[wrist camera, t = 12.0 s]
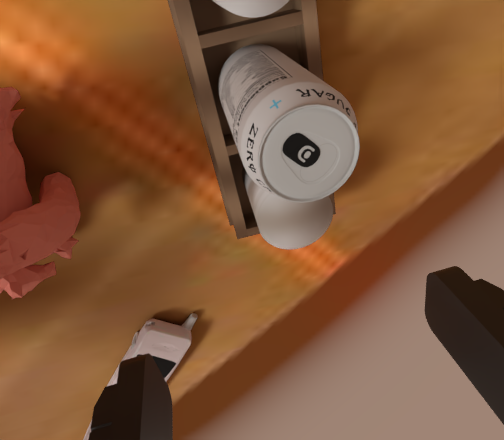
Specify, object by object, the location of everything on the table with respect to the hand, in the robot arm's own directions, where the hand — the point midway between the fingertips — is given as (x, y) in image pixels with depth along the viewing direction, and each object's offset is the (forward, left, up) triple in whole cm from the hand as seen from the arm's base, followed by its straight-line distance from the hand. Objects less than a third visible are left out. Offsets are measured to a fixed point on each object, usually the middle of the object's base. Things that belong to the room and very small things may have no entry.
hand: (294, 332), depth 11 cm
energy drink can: (+3, +1, -24) cm, 24 cm away
